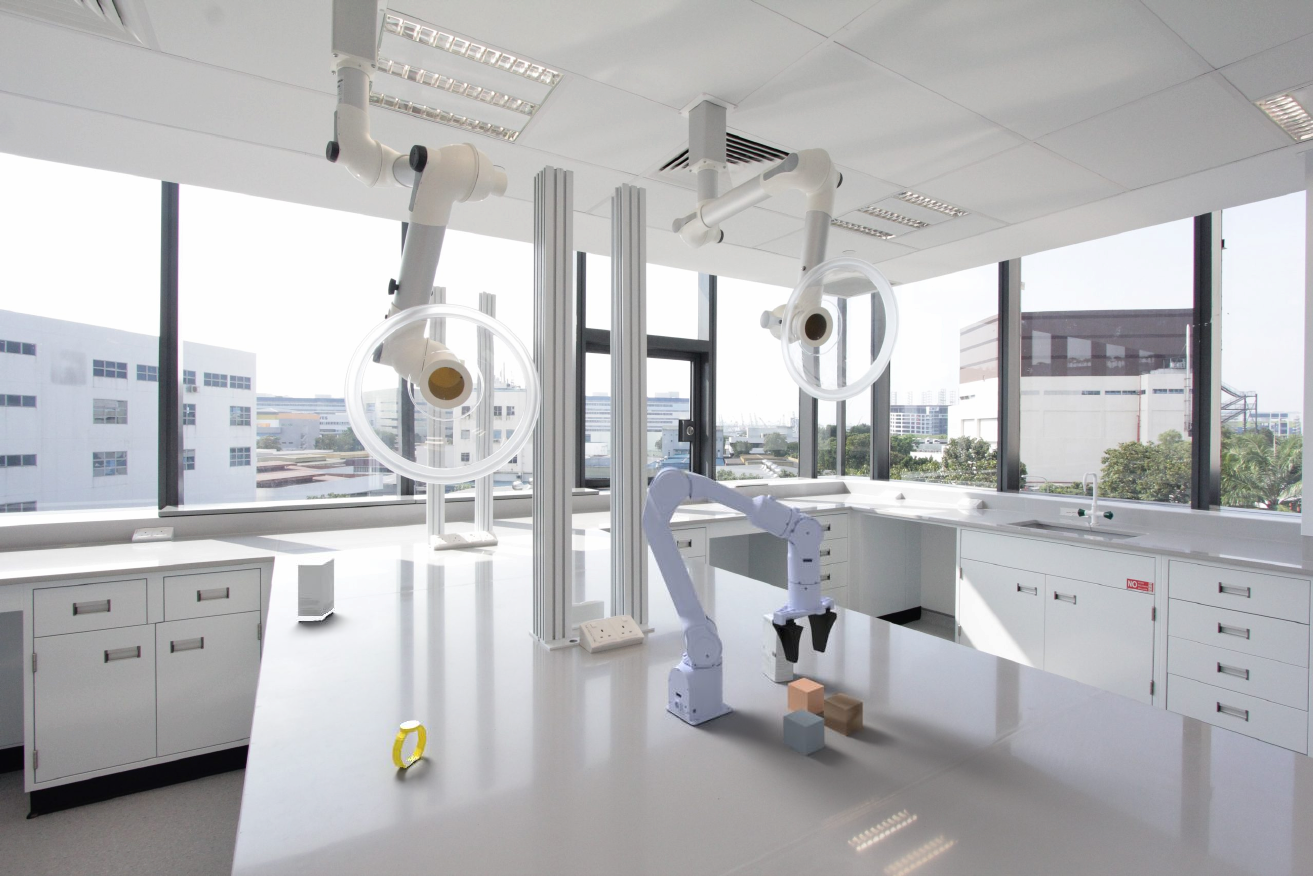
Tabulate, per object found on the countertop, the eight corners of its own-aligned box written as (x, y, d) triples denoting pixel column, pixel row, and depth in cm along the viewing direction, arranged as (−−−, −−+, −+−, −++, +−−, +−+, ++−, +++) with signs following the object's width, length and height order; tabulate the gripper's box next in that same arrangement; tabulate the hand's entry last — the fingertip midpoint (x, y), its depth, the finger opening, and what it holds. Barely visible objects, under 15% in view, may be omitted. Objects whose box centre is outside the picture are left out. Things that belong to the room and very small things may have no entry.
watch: (415, 754, 94) (416, 715, 94) (430, 756, 93) (431, 717, 93) (387, 772, 88) (388, 730, 88) (403, 775, 87) (404, 733, 88)
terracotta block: (807, 718, 105) (807, 692, 105) (787, 708, 108) (787, 683, 108) (824, 711, 107) (824, 686, 107) (804, 702, 111) (804, 677, 111)
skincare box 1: (311, 613, 167) (310, 557, 167) (336, 612, 168) (335, 556, 168) (296, 622, 159) (296, 564, 159) (323, 621, 159) (322, 563, 159)
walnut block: (846, 736, 98) (846, 709, 98) (823, 726, 102) (823, 699, 102) (862, 728, 101) (862, 702, 101) (840, 718, 104) (840, 692, 104)
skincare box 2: (761, 672, 125) (761, 614, 125) (780, 669, 126) (780, 612, 126) (775, 683, 119) (775, 622, 119) (795, 681, 120) (795, 620, 120)
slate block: (805, 756, 92) (805, 727, 92) (783, 744, 96) (783, 716, 96) (824, 747, 95) (824, 718, 95) (802, 735, 99) (802, 708, 99)
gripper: (795, 592, 100) (796, 673, 100) (847, 578, 109) (849, 652, 109) (763, 584, 106) (765, 661, 106) (816, 571, 115) (817, 642, 115)
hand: (805, 656), depth 108 cm, fingers open, 7 cm apart
